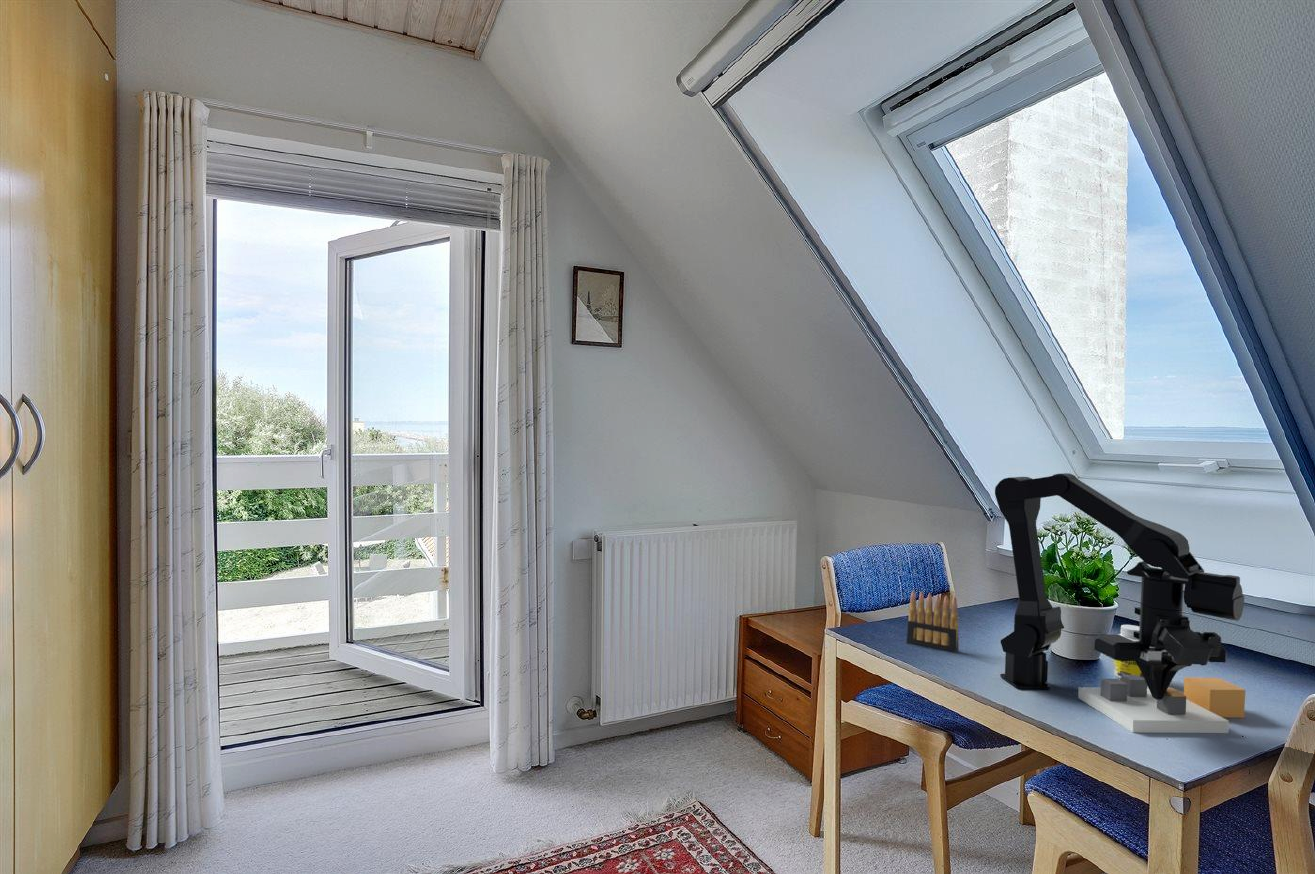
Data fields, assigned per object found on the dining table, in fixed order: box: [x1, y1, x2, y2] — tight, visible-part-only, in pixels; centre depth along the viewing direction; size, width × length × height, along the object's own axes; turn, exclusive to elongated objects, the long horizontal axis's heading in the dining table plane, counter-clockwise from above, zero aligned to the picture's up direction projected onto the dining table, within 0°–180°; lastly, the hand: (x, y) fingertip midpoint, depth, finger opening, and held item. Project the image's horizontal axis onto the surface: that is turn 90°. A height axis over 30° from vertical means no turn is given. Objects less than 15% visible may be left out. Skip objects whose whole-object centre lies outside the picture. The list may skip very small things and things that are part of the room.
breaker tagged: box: [1157, 687, 1186, 714], centre depth 118 cm, size 3×3×4 cm
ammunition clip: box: [905, 590, 959, 654], centre depth 155 cm, size 11×2×12 cm, turn 53°
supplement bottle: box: [1113, 624, 1144, 680], centre depth 139 cm, size 6×6×10 cm
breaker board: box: [1077, 675, 1230, 734], centre depth 121 cm, size 16×14×5 cm
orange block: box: [1183, 676, 1246, 719], centre depth 124 cm, size 6×6×5 cm
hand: (1157, 698), depth 118 cm, fingers closed
